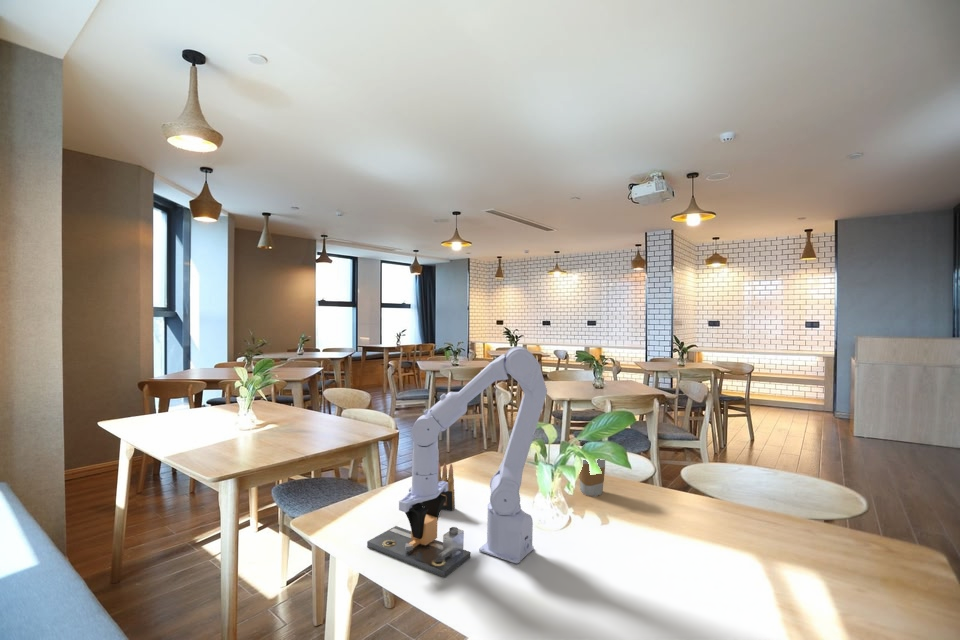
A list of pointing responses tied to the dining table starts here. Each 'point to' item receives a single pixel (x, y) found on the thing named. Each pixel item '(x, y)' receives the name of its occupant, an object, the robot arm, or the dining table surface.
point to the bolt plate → (424, 550)
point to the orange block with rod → (425, 533)
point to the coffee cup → (591, 478)
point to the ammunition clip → (449, 494)
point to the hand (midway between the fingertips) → (424, 533)
